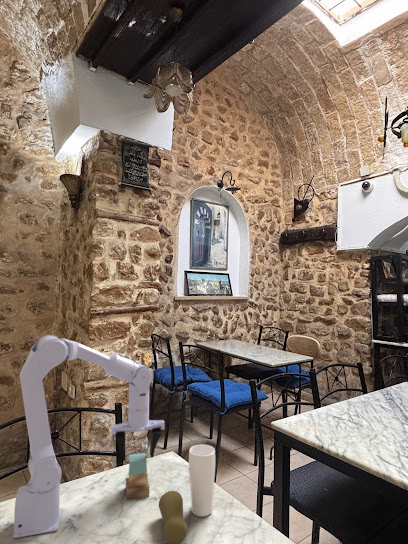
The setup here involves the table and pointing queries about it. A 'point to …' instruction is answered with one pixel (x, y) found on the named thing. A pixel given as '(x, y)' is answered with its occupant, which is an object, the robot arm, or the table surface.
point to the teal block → (137, 464)
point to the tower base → (136, 491)
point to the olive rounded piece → (173, 517)
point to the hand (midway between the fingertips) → (137, 457)
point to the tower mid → (138, 480)
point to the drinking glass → (202, 478)
